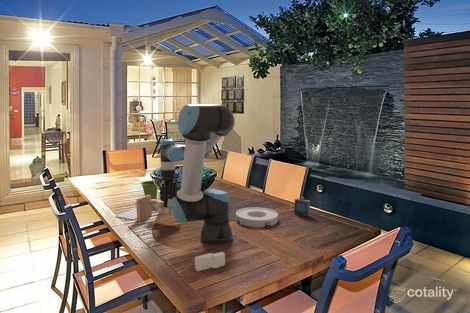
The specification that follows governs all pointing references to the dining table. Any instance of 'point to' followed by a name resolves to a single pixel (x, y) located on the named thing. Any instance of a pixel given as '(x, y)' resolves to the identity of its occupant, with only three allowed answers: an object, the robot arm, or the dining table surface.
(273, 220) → the ashtray
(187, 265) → the dining table surface
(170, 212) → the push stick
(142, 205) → the tile
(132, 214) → the mat
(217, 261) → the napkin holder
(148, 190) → the plant pot
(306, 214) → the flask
